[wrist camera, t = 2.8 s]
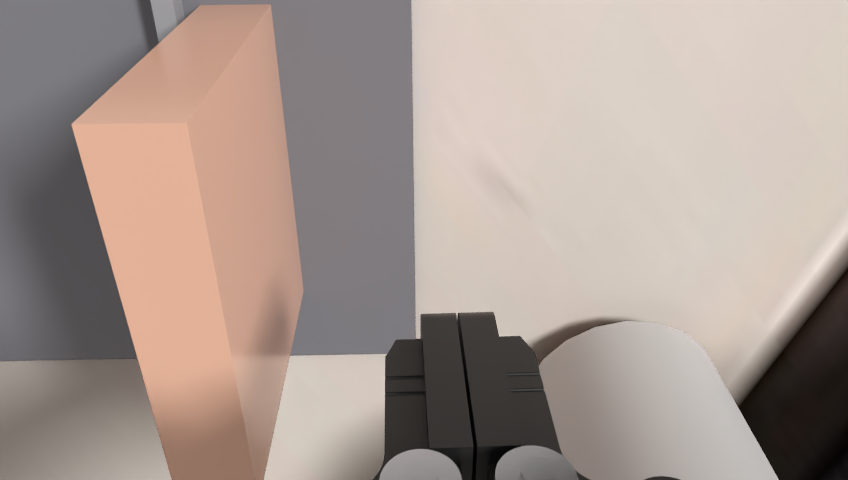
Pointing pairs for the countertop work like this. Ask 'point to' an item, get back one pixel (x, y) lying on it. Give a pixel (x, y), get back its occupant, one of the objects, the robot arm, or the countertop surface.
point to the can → (647, 408)
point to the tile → (202, 234)
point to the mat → (307, 152)
